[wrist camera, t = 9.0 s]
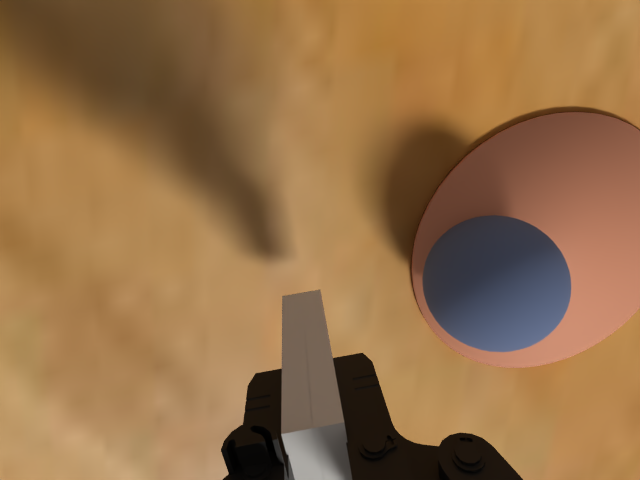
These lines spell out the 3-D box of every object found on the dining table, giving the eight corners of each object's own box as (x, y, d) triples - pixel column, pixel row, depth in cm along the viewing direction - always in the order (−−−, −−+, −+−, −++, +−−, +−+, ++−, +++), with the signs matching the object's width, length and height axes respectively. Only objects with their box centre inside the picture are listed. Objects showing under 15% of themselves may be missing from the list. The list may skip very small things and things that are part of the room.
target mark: (365, 205, 17) (365, 207, 17) (645, 51, 16) (649, 51, 16) (468, 402, 22) (470, 404, 22) (696, 294, 20) (699, 295, 20)
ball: (620, 227, 13) (527, 207, 18) (455, 227, 13) (411, 207, 18) (595, 379, 14) (515, 318, 19) (443, 381, 14) (405, 319, 19)
